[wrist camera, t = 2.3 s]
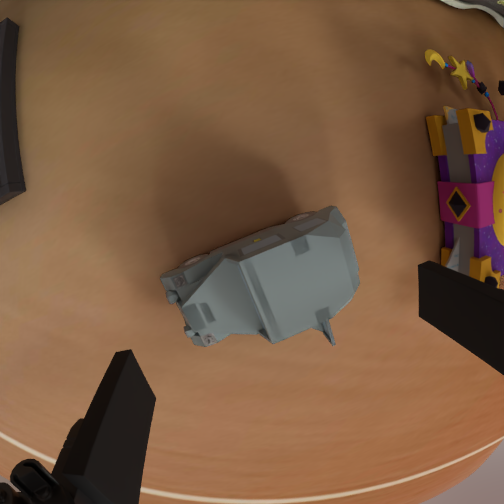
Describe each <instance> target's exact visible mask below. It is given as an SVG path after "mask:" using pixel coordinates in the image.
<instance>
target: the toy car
mask: <svg viewBox="0 0 504 504" xmlns="http://www.w3.org/2000/svg"><path fill="white" fill-rule="evenodd" d="M358 271H359V267H358V263H357V259H356V256H355V252H354V248H353V244H352V241H351V237H350V234H349V230H348V227H347V223H346V220H345V219H344V217H343V216H342V214H341V213H340V211H339V210H338V208H337V207H336V206H329V207H326V208H324V209H321V210H319V211H318V212H306V213H302V214H299V215H296V216H294V217H292V218H290V219H289V220H288V221H287V222H286V224H282V225H277V226H272V227H269V228H266V229H264V230H261V231H259V232H256V233H254V234H251V235H249V236H246V237H244V238H241V239H239V240H237V241H234V242H232V243H229V244H227V245H224V246H222V247H219V248H217V249H215V250H212V251H210V255H208V254H203V255H199V256H196V257H193V258H191V259H189V260H187V261H185V262H183V263H182V264H181V265H180V266H179V267H178V268H177V269H173V270H171V271H169V272H166V273H164V274H162V275H161V277H160V279H161V282H162V284H163V286H164V288H165V290H166V291H167V292H166V297H167V299H168V301H169V303H170V304H173V303H175V302H176V304H177V306H178V308H179V310H180V311H181V313H182V315H183V317H184V320H185V323H186V326H184V331H185V334H186V335H187V337H190V338H191V339H192V341H193V343H194V345H198V346H203V347H207V346H210V345H213V344H215V343H218V342H219V341H221V340H223V339H224V338H226V337H227V336H229V335H230V334H260V335H261V336H262V337H264V338H265V339H267V340H268V341H269V342H271V343H272V344H275V343H277V342H280V341H282V340H284V339H287V338H289V337H291V336H294V335H296V334H298V333H301V332H303V331H305V330H307V329H310V328H313V329H316V330H319V331H322V332H323V334H324V335H325V337H326V338H327V339H328V340H329V342H330V343H331V344H332V346H334V345H336V344H335V341H334V337H333V334H332V330H331V327H330V323H329V319H331V318H333V317H334V316H335V315H336V314H337V313H338V312H339V311H340V310H341V309H343V308H344V307H345V306H346V305H347V304H348V303H349V302H350V301H351V300H352V298H353V296H354V294H355V292H356V290H357V288H358V286H359V284H360V280H359V276H358Z"/></svg>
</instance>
